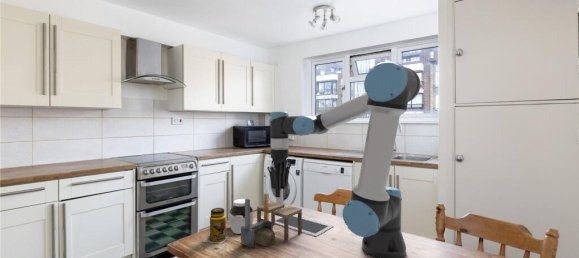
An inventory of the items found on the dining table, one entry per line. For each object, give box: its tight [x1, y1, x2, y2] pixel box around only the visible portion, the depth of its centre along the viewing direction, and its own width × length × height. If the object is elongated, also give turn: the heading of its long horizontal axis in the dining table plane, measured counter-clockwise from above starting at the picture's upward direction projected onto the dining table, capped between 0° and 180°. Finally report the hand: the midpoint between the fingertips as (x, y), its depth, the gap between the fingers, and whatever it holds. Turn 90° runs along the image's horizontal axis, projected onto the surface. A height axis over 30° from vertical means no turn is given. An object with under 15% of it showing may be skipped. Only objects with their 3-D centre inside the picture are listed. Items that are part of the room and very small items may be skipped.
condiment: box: [201, 207, 230, 244], centre depth 108 cm, size 7×8×12 cm
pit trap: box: [275, 214, 334, 238], centre depth 123 cm, size 26×14×1 cm, turn 51°
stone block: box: [254, 227, 276, 247], centre depth 106 cm, size 6×12×5 cm, turn 52°
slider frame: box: [240, 192, 274, 248], centre depth 105 cm, size 6×11×17 cm, turn 141°
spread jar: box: [228, 198, 254, 235], centre depth 118 cm, size 12×11×12 cm
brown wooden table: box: [256, 201, 303, 242], centre depth 115 cm, size 16×10×10 cm, turn 51°
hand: (279, 204), depth 115 cm, fingers closed
